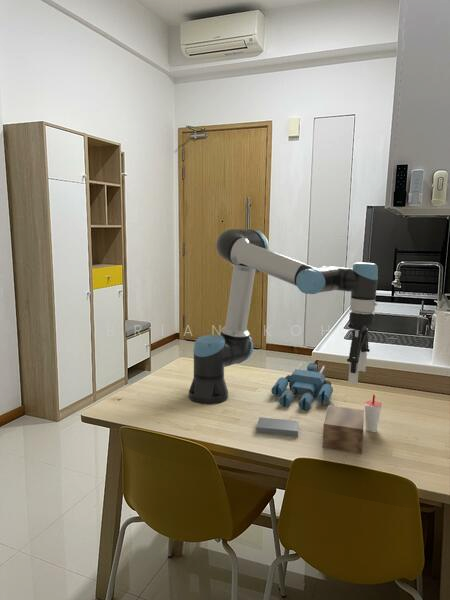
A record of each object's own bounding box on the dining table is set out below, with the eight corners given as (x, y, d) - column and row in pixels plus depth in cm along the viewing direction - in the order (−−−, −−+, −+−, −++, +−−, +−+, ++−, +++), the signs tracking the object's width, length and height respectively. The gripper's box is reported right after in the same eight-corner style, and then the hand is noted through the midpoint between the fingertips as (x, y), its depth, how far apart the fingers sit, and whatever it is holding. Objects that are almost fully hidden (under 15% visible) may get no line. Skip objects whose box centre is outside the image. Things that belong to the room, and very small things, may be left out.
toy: (265, 387, 168) (287, 357, 194) (265, 409, 170) (287, 377, 196) (325, 397, 159) (340, 364, 185) (324, 419, 161) (339, 384, 187)
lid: (256, 434, 144) (256, 427, 143) (259, 424, 152) (259, 417, 151) (297, 438, 141) (297, 431, 141) (298, 428, 149) (298, 420, 149)
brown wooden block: (322, 447, 135) (323, 423, 134) (327, 427, 149) (328, 405, 148) (361, 453, 131) (363, 429, 130) (362, 432, 146) (363, 410, 145)
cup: (376, 426, 151) (378, 391, 149) (382, 433, 145) (385, 397, 144) (360, 426, 150) (362, 391, 149) (366, 433, 145) (368, 397, 143)
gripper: (367, 319, 130) (361, 390, 133) (380, 307, 152) (375, 368, 155) (341, 316, 134) (336, 385, 137) (357, 305, 156) (353, 364, 159)
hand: (357, 376), depth 146 cm, fingers open, 13 cm apart
